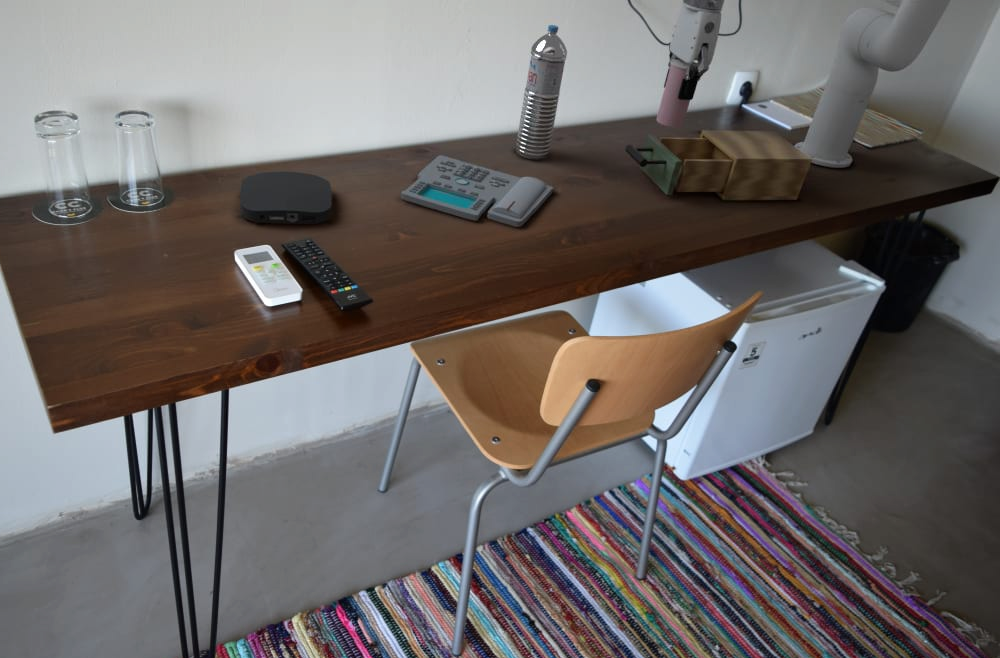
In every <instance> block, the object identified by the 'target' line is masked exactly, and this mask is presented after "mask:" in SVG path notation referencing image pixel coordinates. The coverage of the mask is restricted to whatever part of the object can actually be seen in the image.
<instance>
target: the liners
mask: <svg viewBox="0 0 1000 658" xmlns="http://www.w3.org/2000/svg"><path fill="white" fill-rule="evenodd" d="M694 63H697V62H696V61H694ZM686 65H687V63H685V62H684V61H682V60H681V59H673V60H671V66H670V70H669V74H668V78H667V82H666V85H665V88H664V89H663V93H662V96H661V101H660V103H659V108H658V111H657V116H656V122H657V123H658V124H660V125H662V126H665V127H670V128H682V127H683V126H684V123H685V121H686V117H687V113H688V110H689V106H690V102H691V100H680V99H678V94H679V90H680V87H681V83H682V80H683V79H685V74H686ZM694 69H696V67H692V69H691V72H692V71H693V70H694Z"/></svg>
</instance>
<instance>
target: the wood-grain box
mask: <svg viewBox="0 0 1000 658" xmlns="http://www.w3.org/2000/svg"><path fill="white" fill-rule="evenodd" d="M699 138H707V139H708V140H709V141H711V142H712V143H713V144H714V145H715V146H717V147H718V148H719V149H720V150H722V151H723V152H724V153H725V154H726V155H728V156H729V157H730V158H731V159H733V160H734V162H733V165H732V168H731V171H730V174H729V177H728V180H727V183H726V186H725V190H724V192H714V193H715V195H717V196H718V197H719V198H720V199H721V200H722V201H797V200H798V197H799V195H800V192H801V189H802V187H803V184H804V182H805V179H806V176H807V174H808V172H809V169H810V166H811V164H812V163H811V161H812V159H811V158H810V157H809V156H807V155H806V154H804V153H803V152H802V151H800V150H799V149H797V148H796V147H795V145H793V144H792V143H791V142H789V141H787V140H786V139H785V138H784V137H782V136H781V135H780V134H778V133H776V132H775V131H774V130H773V131H771V130H770V131H767V130H764V131H763V130H719V129H718V130H717V129H716V130H715V129H714V130H713V129H708V130H707V129H705V130H704V129H703V130H701V133H700V136H699Z"/></svg>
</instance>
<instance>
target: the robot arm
mask: <svg viewBox="0 0 1000 658" xmlns="http://www.w3.org/2000/svg"><path fill="white" fill-rule="evenodd" d="M882 1H883V2H885V3H886V4H889V5H891V6H894V7H896V8H898V9H897V11H896V13H893V12H890V11H888V10H885V9H883V8H879V7H875V6H865V7H861V8H859V9H857V10H855V11H854V12H852V13H851V14H850V15H849V16H848V17H847V18H846V20H845V21H844V23H843V24H842V27H841V28H840V32H839V36H838V39H837V40H838V41H837V46H836V52H835V55H834V60H833V63H832V66H831V69H830V72H829V75H828V77H827V80H826V83H825V85H824V88H823V90H822V92H821V96H820V98H819V101H818V104H817V106H816V109H815V112H814V114H813V117H812V120H811V122H810V124H809V128H808V130H807V132H806V133H807V134H806V135H805V138H804V141H799V142H797V143H795V145H794V147H796V148H797V149H799V150H800V151H802V152H803V153H804V154H806V155H807V156H809V157H810V158H811V159H812V161H811V164H813V165H817V166H821V167H825V168H831V169H844V168H847V167H850V166H851V164H852V162H853V157H852V155H850V153H848V152H849V150H850V147H851V145H852V143H853V142H854V139H855V135H856V134H857V131H858V129H859V126H860V124H861V121H862V119H863V117H864V114H865V111H866V109H867V106H868V104H869V102H870V100H871V97H872V95H873V93H874V91H875V88H876V85H877V82H878V76H879V69H880V70H883V71H886V72H891V73H894V72H900V71H902V70H904V69H906V68H908V67H909V66H910V65H912V63H914V62H915V61H916V60H917V58H918V56H919V55H920V54H921V52H922V51H923V49H924V48H925V46H926V45H927V42H928V41H929V39H930V37H931V35H932V34H933V32H934V31H935V29H936V28H937V25H938V24H939V22H940V20H941V18H942V16H943V15H944V13H945V11H946V10H947V8H948V6H949V4H950V2H951V0H882ZM681 5H682V6H681V8H680V11H679V13H678V16H677V18H676V19H677V20H676V22H675V25H674V28H673V32H672V37H671V40H670V42H669V43H668V51H669V54H668V56H669V61H668V64H667V67H668V69H667V73H666V77H665V81H664V84H663V88H664V89H665V85H666V82H667V78H668V74H669V70H670V66H671V60H673V59H681V60H682V61H684V62H685V63H687V65H686V74H685V79H683V80H682V83H681V87H680V90H679V94H678V99H680V100H690V101H693V99H694V96H695V92H696V89H697V86H698V82H699V81H700V80H701V78H702V76H703V75H704V74H705V73H707V72H708V71H709V69H710V65H711V64H712V61H713V58H714V55H715V51H716V47H717V42H718V39H719V34H720V29H721V22H722V11H723V7H724V5H725V0H682V4H681ZM695 61H697V62H696V63H694V62H695ZM692 67H696V69H694V70H693V71H692V72H691V69H692Z"/></svg>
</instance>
